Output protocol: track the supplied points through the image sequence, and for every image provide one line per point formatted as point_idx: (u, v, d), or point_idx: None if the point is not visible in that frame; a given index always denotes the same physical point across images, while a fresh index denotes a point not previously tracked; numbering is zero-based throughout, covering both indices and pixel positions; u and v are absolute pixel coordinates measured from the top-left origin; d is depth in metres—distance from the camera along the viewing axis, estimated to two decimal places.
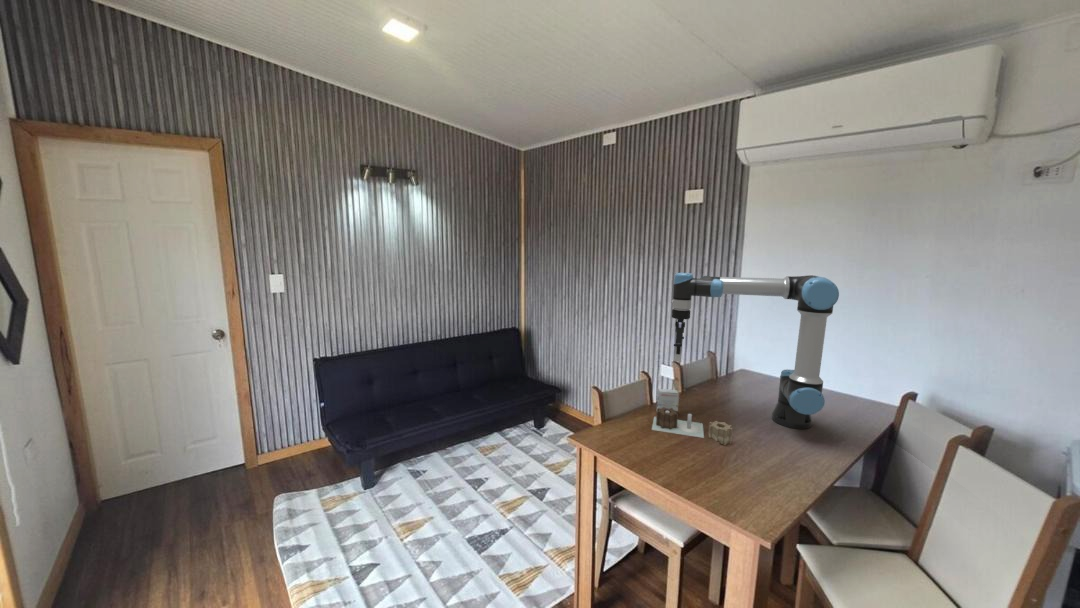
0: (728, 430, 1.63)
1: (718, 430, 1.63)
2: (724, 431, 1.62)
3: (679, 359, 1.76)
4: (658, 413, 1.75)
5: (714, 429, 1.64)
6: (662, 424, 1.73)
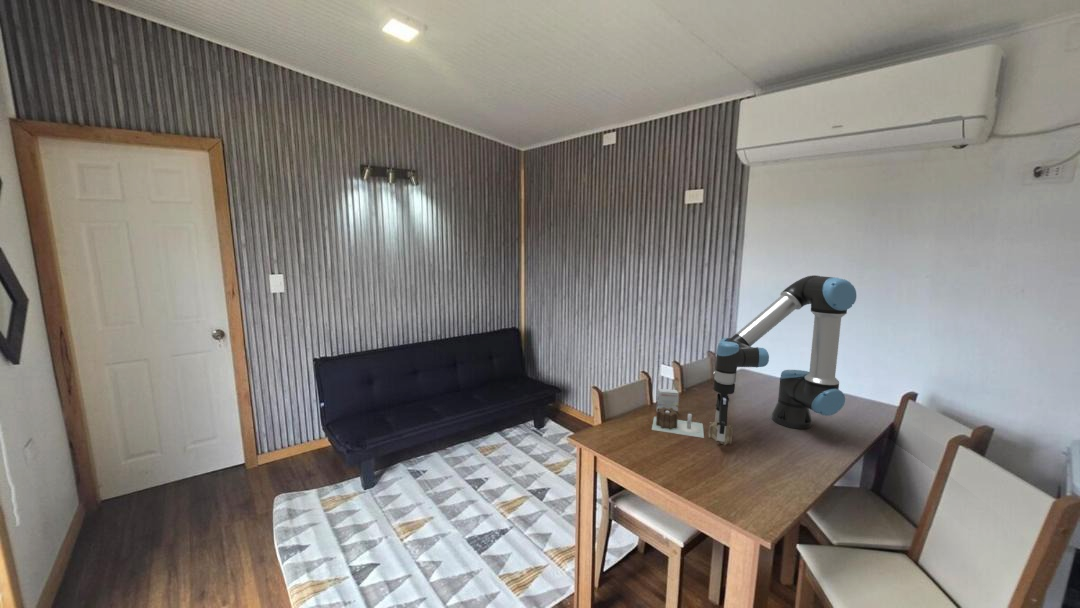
0: (728, 430, 1.63)
1: None
2: None
3: (722, 439, 1.59)
4: (658, 413, 1.75)
5: (714, 429, 1.64)
6: (662, 424, 1.73)
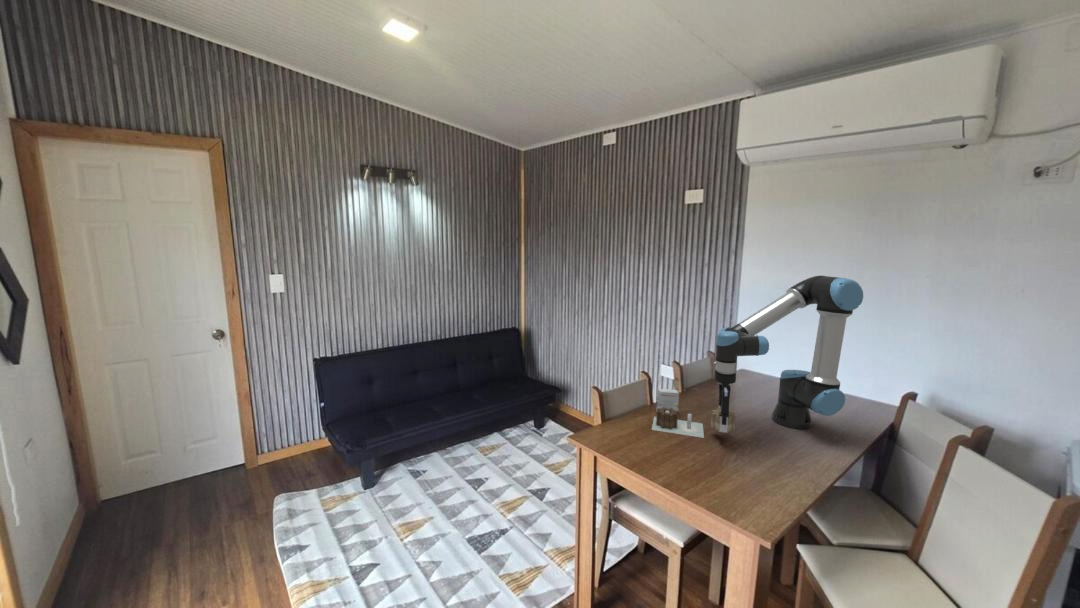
0: (731, 417, 1.62)
1: None
2: None
3: (725, 430, 1.61)
4: (658, 413, 1.75)
5: (716, 417, 1.64)
6: (662, 424, 1.73)
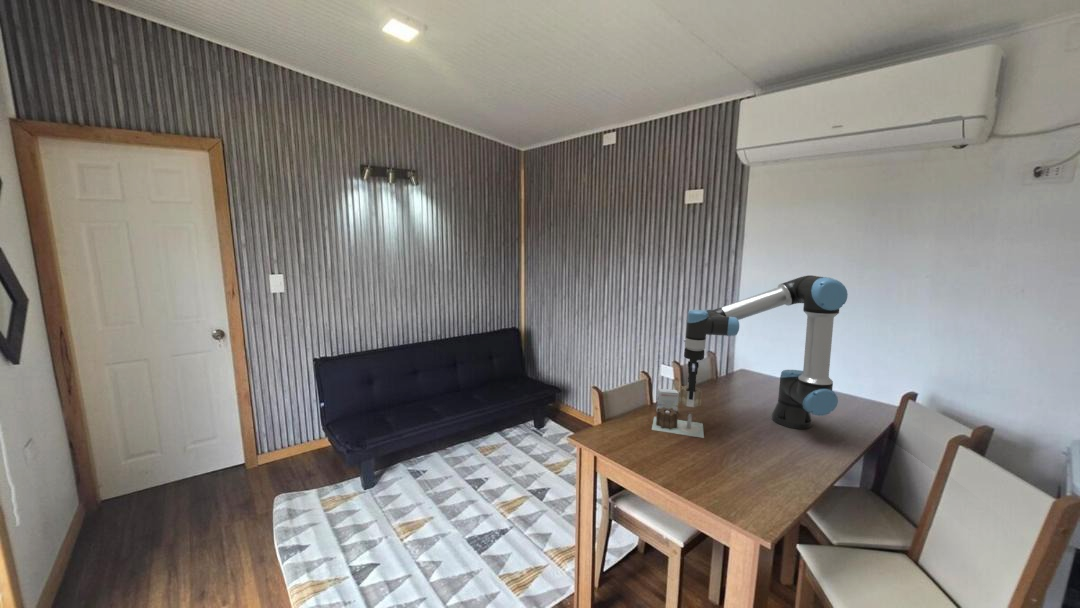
0: (698, 393, 1.69)
1: None
2: None
3: (692, 404, 1.67)
4: (658, 413, 1.75)
5: (684, 392, 1.70)
6: (662, 424, 1.73)
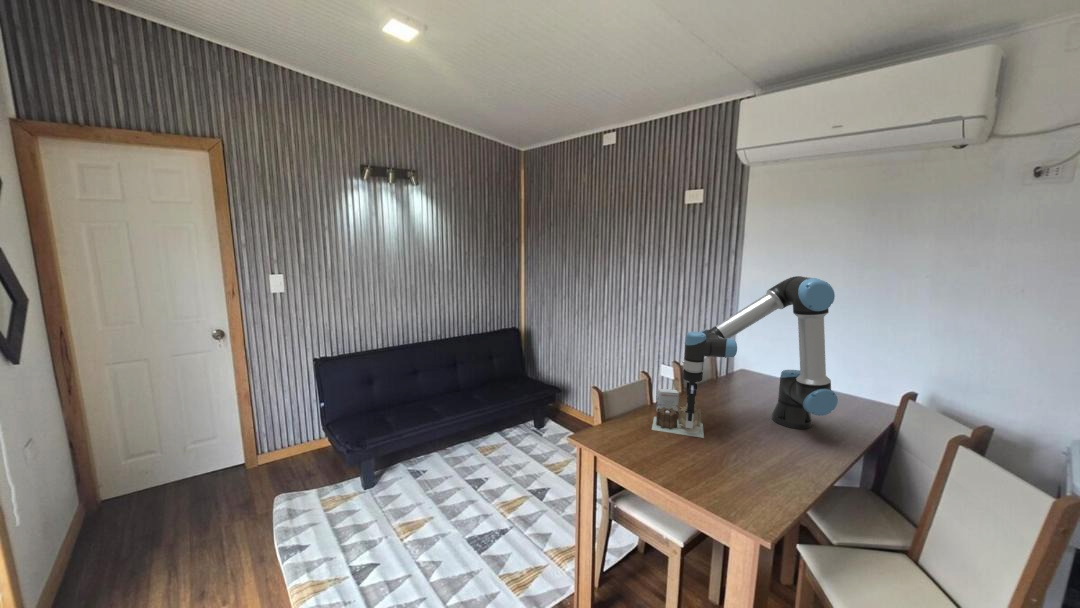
0: (696, 414, 1.70)
1: None
2: None
3: (691, 426, 1.69)
4: (658, 413, 1.75)
5: (683, 413, 1.71)
6: (662, 424, 1.73)
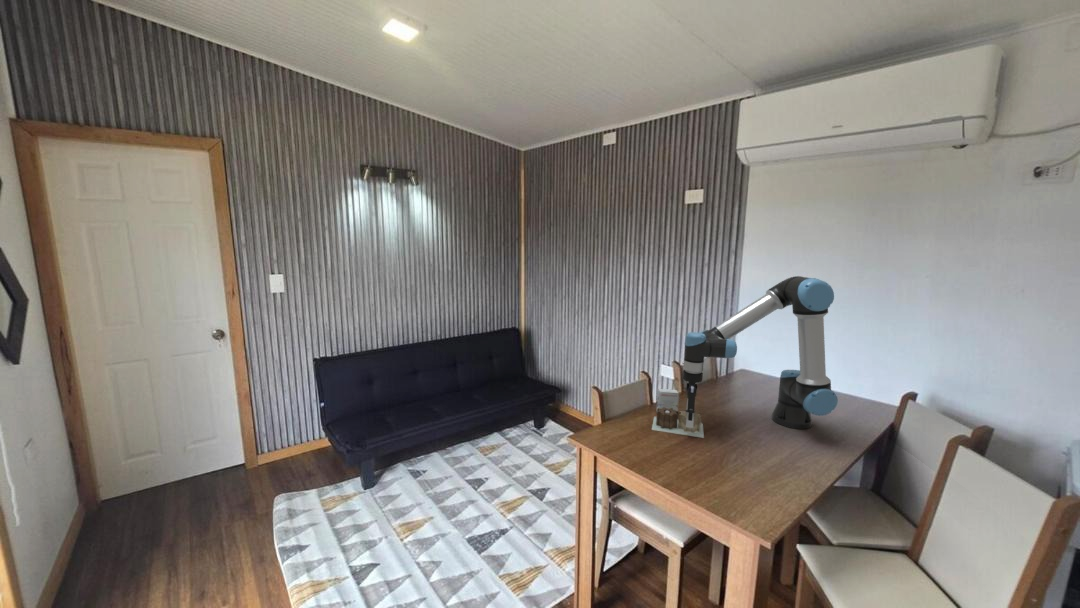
0: (696, 418, 1.70)
1: None
2: None
3: (691, 425, 1.66)
4: (658, 413, 1.75)
5: (683, 417, 1.72)
6: (662, 424, 1.73)
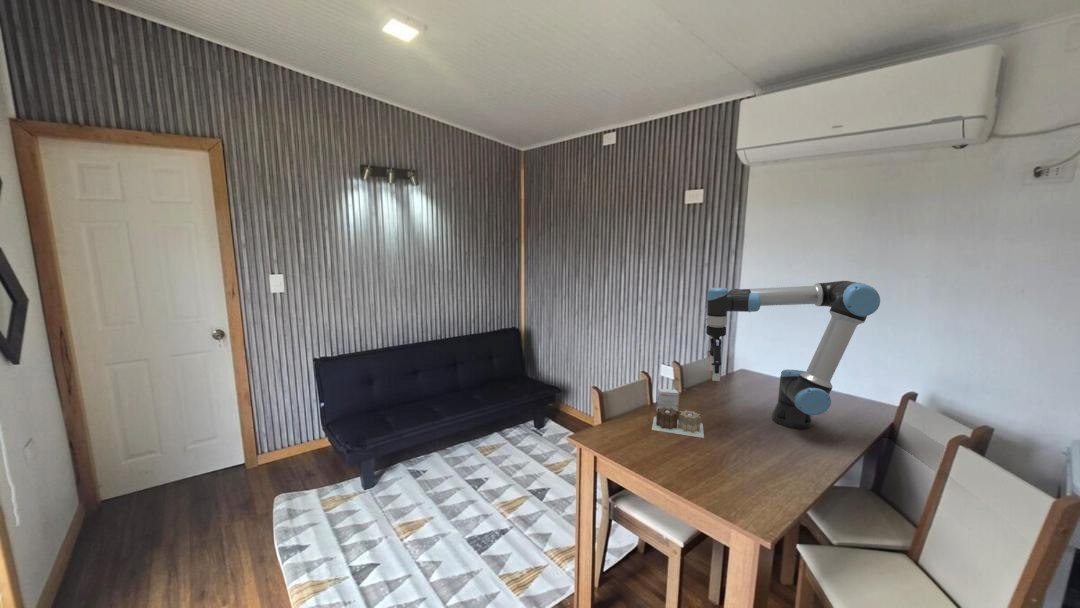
0: (696, 418, 1.70)
1: (687, 418, 1.70)
2: (692, 419, 1.69)
3: (718, 378, 1.69)
4: (658, 413, 1.75)
5: (683, 417, 1.72)
6: (662, 424, 1.73)
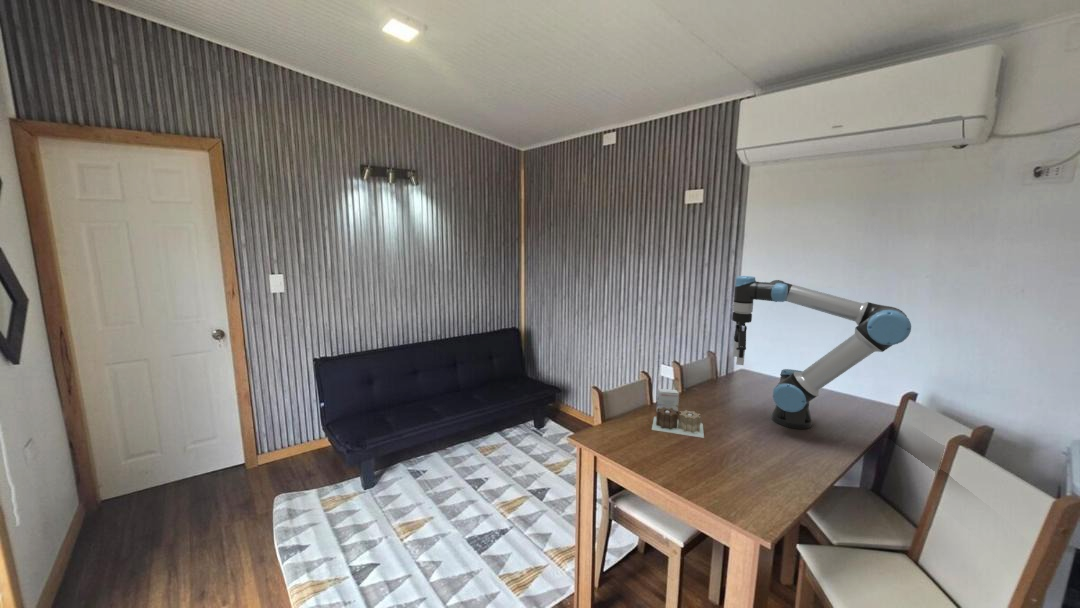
0: (696, 418, 1.70)
1: (687, 418, 1.70)
2: (692, 419, 1.69)
3: (742, 362, 1.76)
4: (658, 413, 1.75)
5: (683, 417, 1.72)
6: (662, 424, 1.73)
